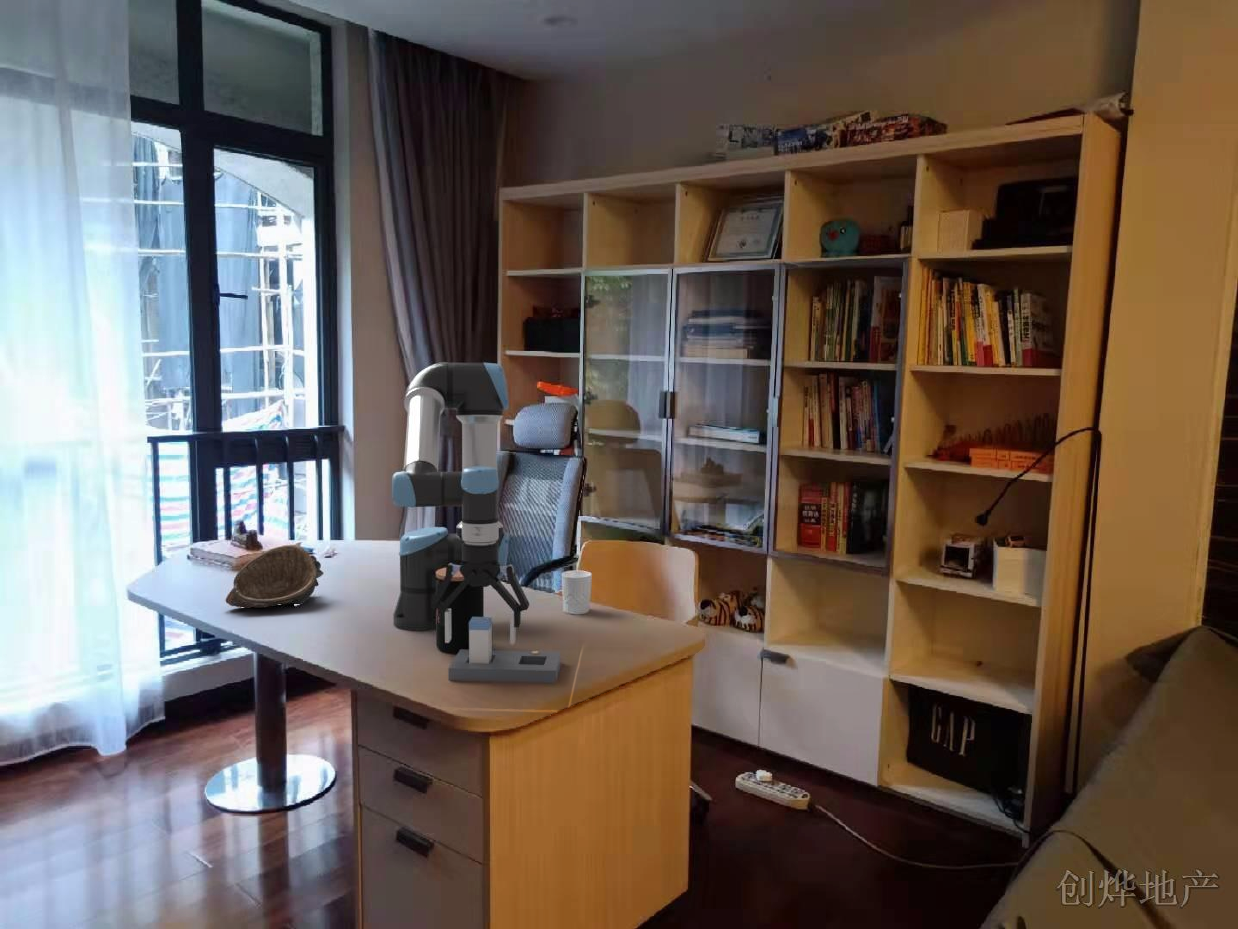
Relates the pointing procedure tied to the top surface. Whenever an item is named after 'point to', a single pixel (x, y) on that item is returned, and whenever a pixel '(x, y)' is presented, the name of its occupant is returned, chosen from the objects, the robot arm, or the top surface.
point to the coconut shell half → (276, 578)
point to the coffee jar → (458, 612)
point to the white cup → (576, 591)
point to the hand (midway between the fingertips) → (480, 641)
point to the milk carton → (480, 640)
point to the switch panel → (508, 667)
